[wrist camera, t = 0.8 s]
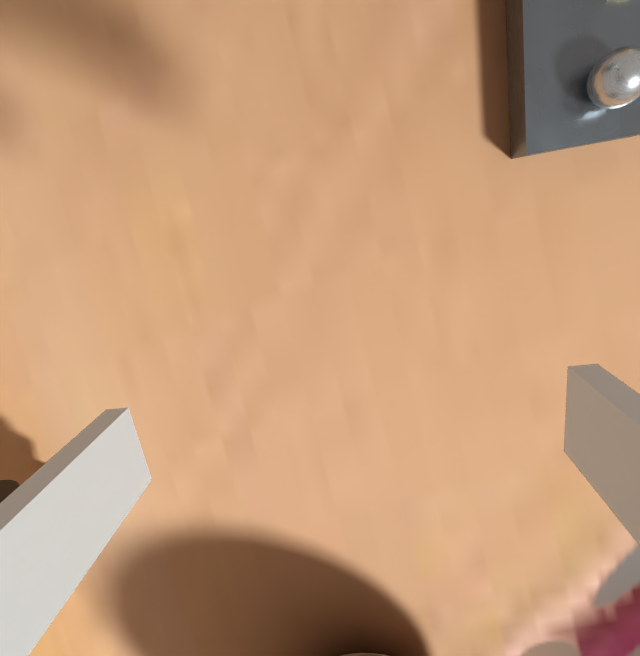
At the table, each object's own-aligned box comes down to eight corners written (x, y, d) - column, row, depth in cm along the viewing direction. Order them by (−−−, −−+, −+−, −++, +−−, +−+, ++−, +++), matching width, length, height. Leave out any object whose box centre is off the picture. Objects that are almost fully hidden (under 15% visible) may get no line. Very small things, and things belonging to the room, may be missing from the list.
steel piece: (576, 62, 27) (606, 44, 24) (632, 50, 27) (670, 30, 23) (576, 118, 28) (604, 108, 25) (629, 107, 28) (665, 96, 24)
